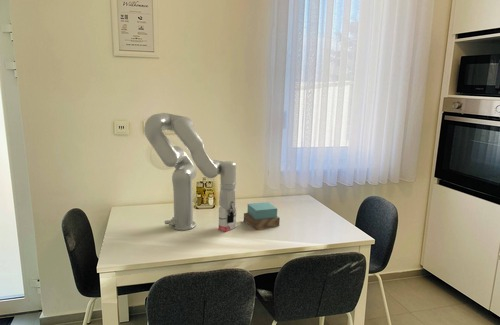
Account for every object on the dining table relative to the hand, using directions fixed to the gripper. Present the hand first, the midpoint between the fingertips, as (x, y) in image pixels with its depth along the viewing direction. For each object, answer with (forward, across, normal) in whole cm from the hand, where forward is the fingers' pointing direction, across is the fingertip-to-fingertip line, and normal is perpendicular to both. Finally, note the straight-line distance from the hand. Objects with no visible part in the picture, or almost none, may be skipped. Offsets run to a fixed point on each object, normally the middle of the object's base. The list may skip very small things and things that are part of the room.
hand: (227, 219), depth 189 cm
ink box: (+5, 0, 0) cm, 5 cm away
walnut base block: (+5, 0, +20) cm, 21 cm away
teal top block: (0, 0, +20) cm, 20 cm away
